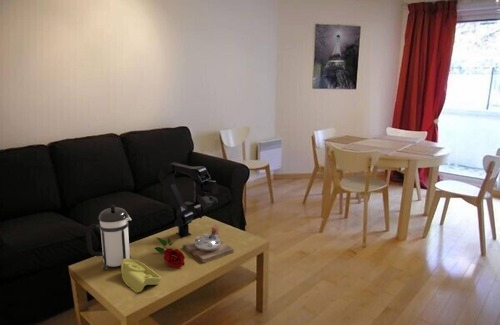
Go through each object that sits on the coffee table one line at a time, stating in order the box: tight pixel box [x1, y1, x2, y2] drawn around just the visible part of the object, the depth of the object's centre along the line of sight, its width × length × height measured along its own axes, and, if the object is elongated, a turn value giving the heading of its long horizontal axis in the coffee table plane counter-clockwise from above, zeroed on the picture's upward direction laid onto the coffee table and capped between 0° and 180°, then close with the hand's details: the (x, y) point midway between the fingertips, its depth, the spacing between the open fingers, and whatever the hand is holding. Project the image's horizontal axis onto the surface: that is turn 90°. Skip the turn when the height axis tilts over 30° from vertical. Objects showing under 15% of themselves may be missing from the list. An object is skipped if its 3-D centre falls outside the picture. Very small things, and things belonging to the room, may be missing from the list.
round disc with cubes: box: [194, 224, 222, 252], centre depth 195 cm, size 18×13×7 cm
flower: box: [153, 236, 185, 269], centre depth 186 cm, size 9×10×30 cm
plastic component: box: [120, 258, 162, 293], centre depth 166 cm, size 20×7×10 cm
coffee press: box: [85, 204, 132, 271], centre depth 175 cm, size 17×16×30 cm
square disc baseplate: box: [182, 240, 235, 264], centre depth 194 cm, size 20×18×2 cm
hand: (200, 218), depth 202 cm, fingers closed
